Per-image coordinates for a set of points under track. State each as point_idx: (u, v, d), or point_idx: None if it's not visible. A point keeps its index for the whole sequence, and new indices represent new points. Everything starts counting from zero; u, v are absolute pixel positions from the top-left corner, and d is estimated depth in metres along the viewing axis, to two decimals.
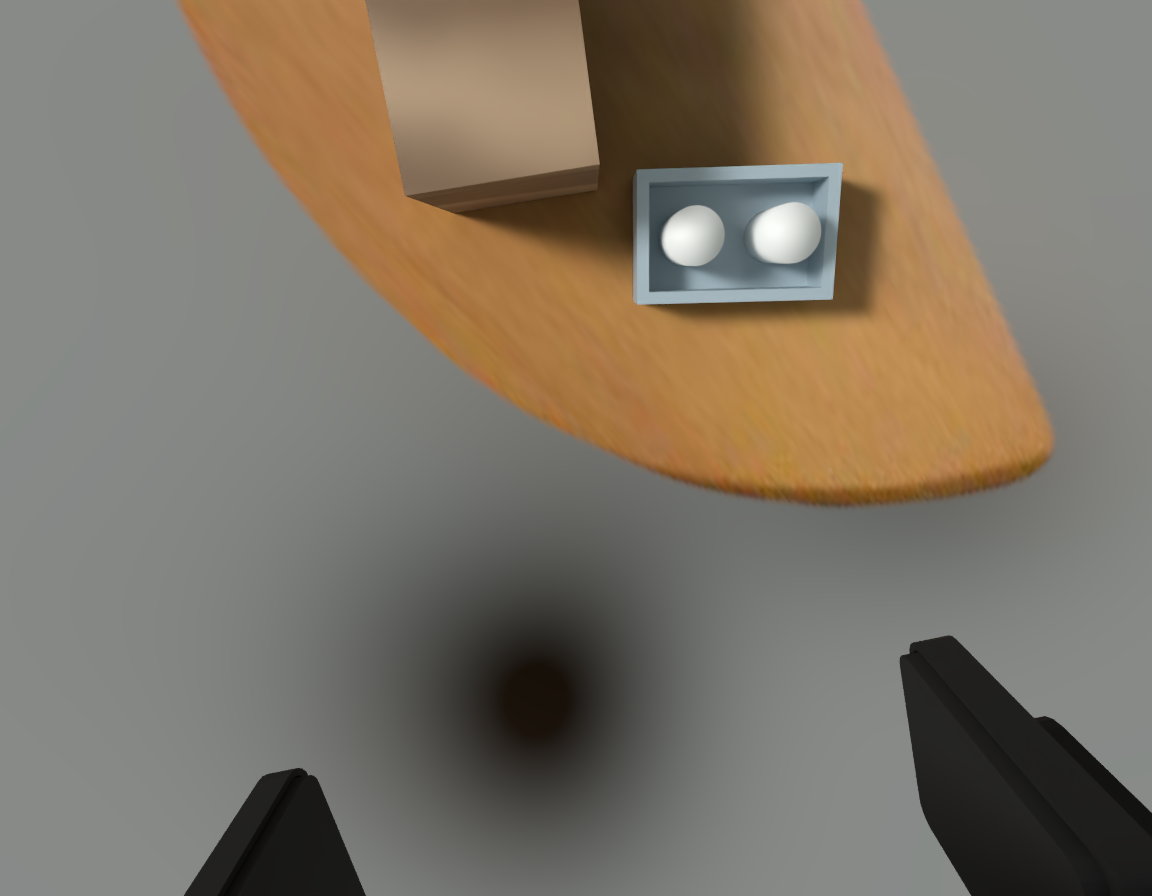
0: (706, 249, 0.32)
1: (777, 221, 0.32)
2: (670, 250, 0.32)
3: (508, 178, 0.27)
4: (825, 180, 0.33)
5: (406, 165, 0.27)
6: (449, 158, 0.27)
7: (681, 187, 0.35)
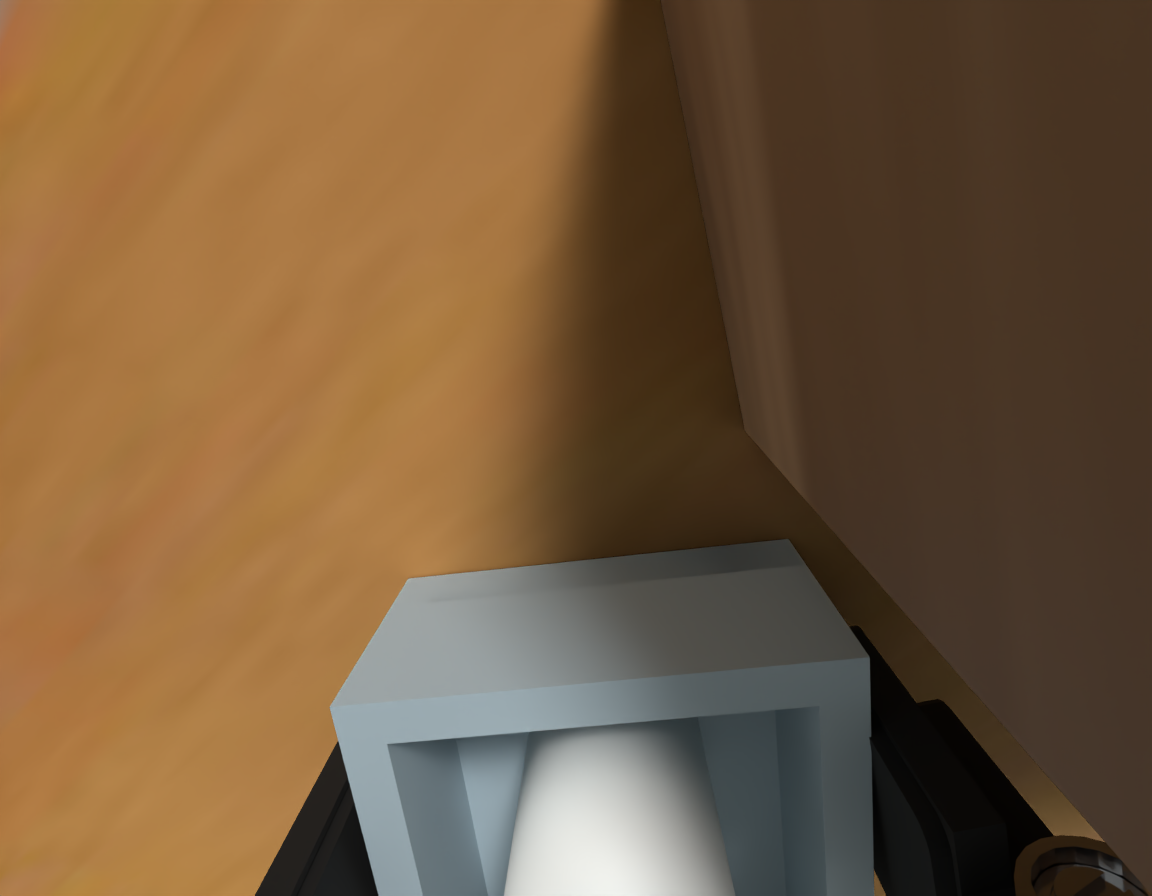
0: None
1: None
2: None
3: None
4: None
5: None
6: None
7: (771, 709, 0.11)
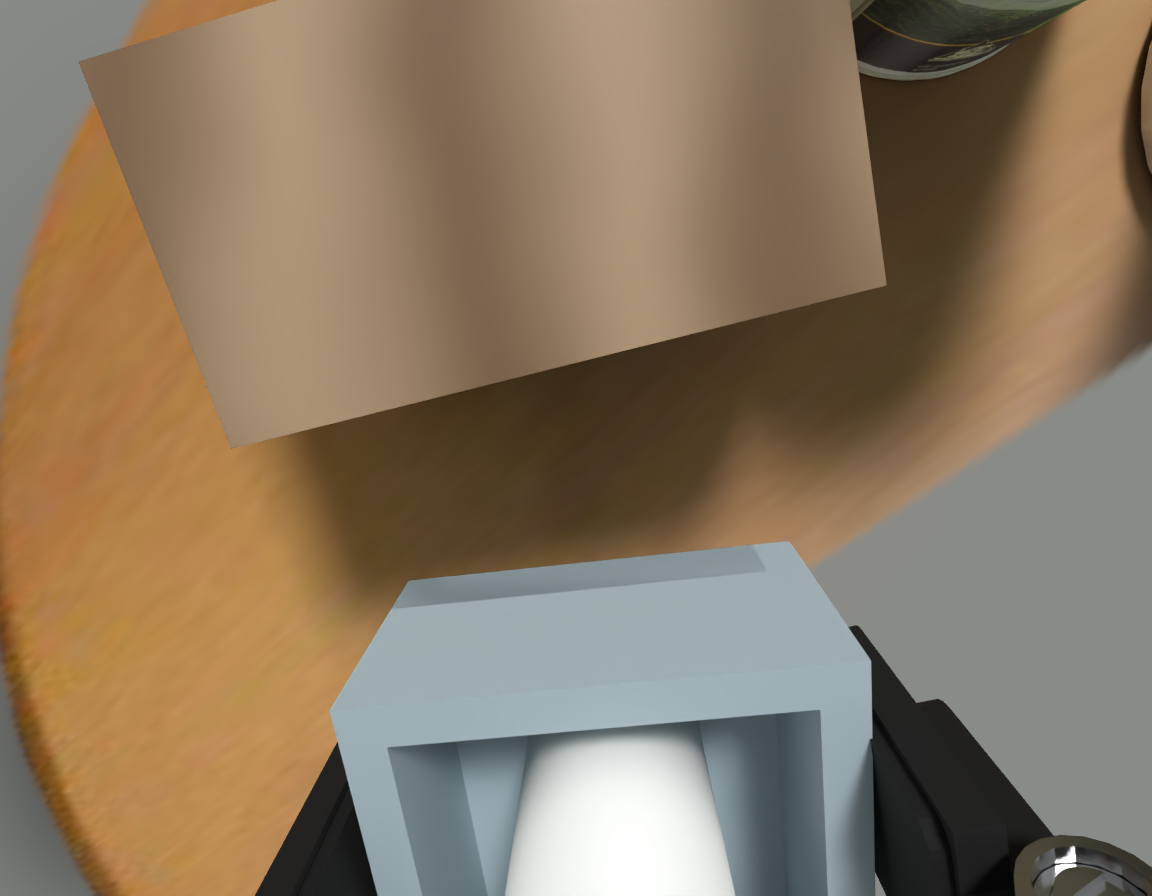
0: None
1: None
2: None
3: (167, 282, 0.14)
4: None
5: (137, 62, 0.13)
6: (173, 158, 0.13)
7: None
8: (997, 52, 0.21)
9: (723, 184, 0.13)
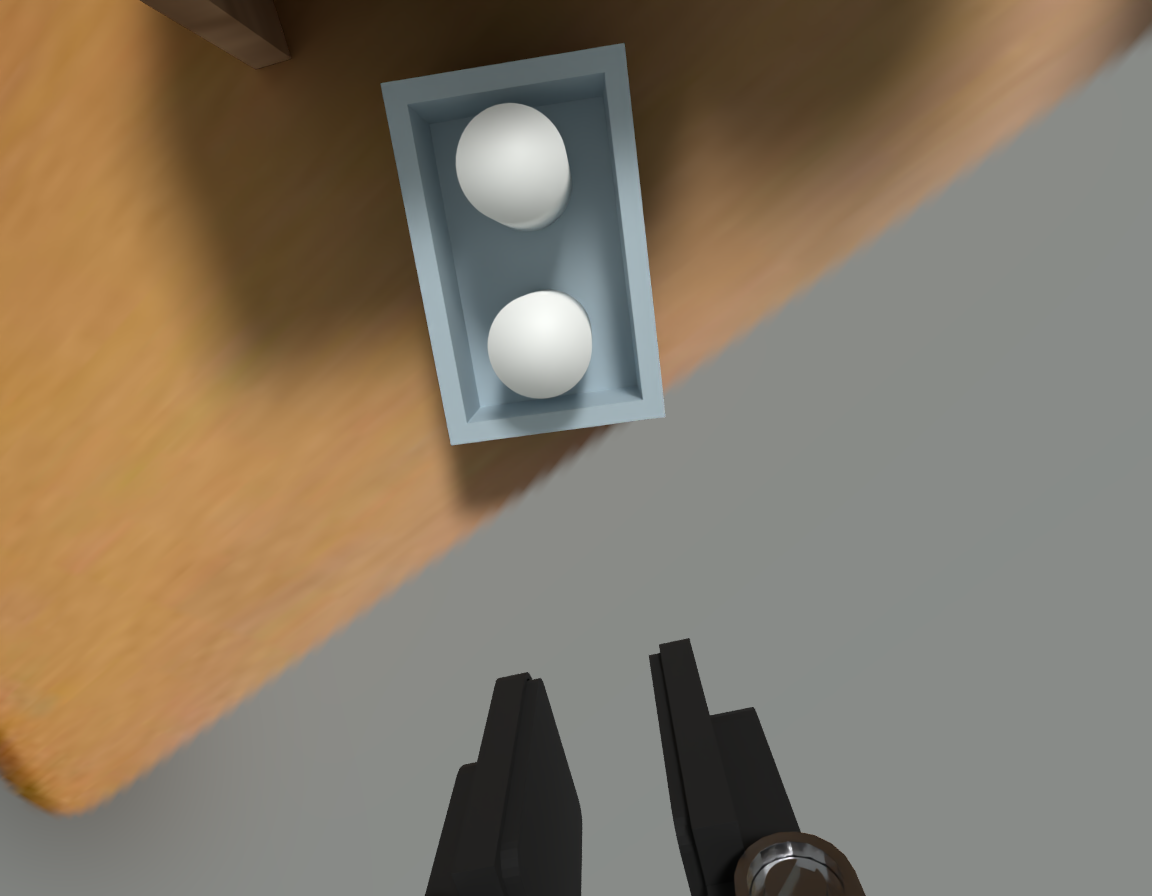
0: (490, 190, 0.17)
1: (555, 317, 0.18)
2: (478, 116, 0.17)
3: None
4: (637, 397, 0.20)
5: None
6: None
7: (609, 164, 0.20)
8: None
9: None
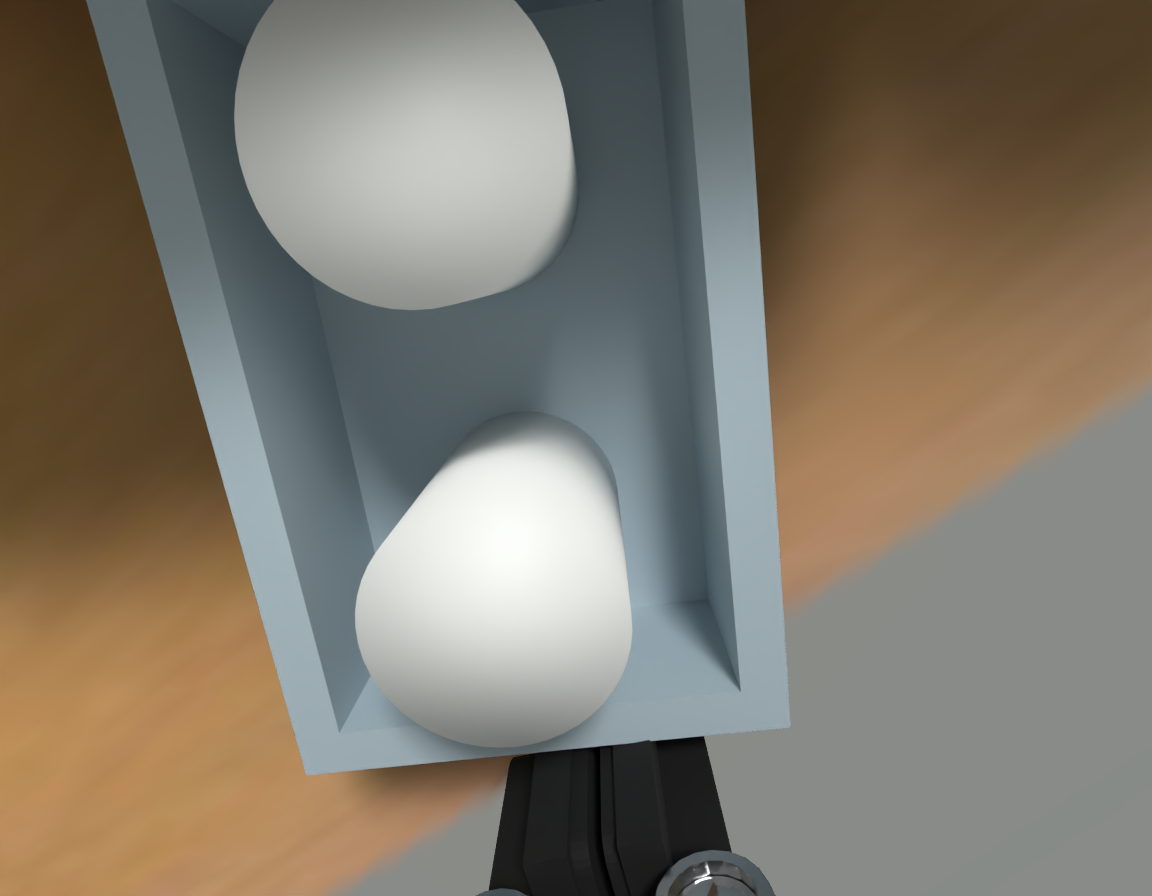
0: (341, 216, 0.06)
1: (537, 559, 0.07)
2: None
3: None
4: (723, 668, 0.09)
5: None
6: None
7: (662, 150, 0.09)
8: None
9: None
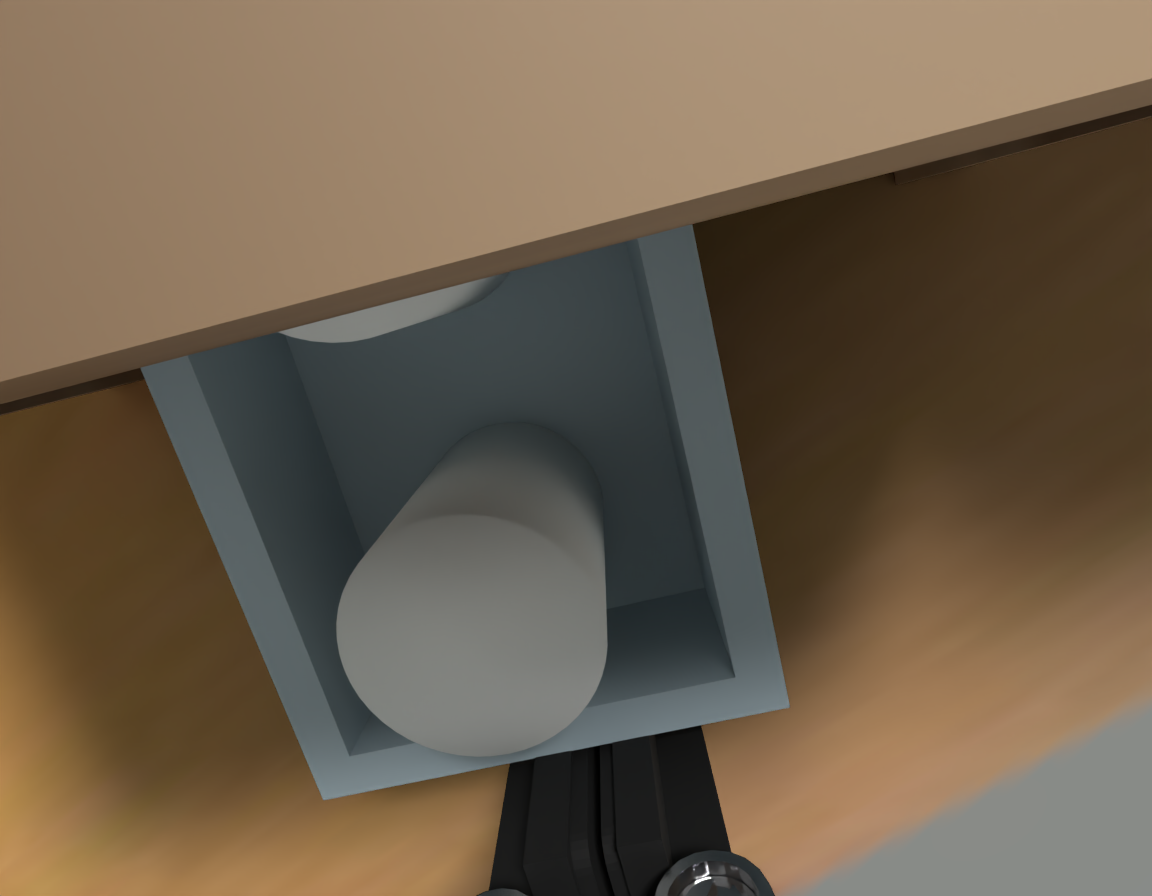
0: None
1: (503, 569, 0.07)
2: None
3: None
4: (718, 655, 0.09)
5: None
6: None
7: None
8: None
9: None
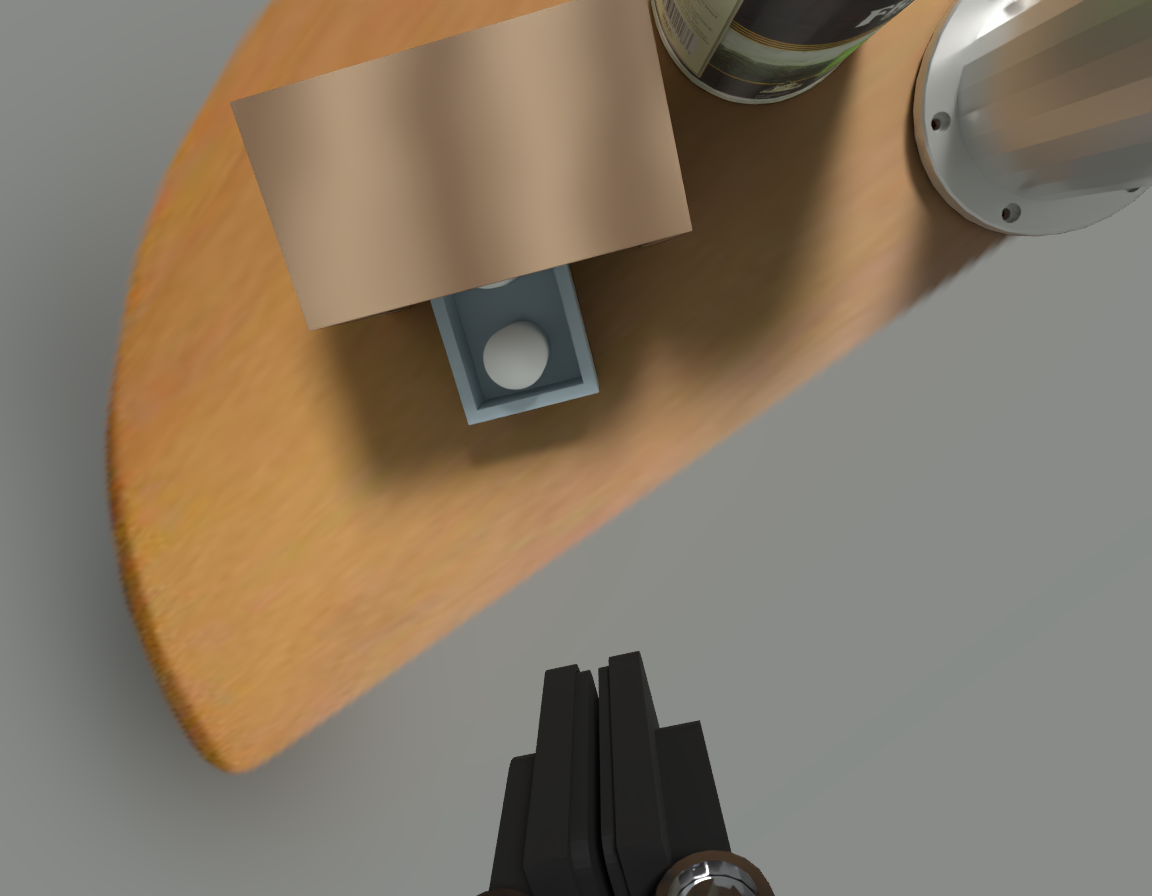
0: None
1: (521, 340, 0.30)
2: None
3: (274, 229, 0.24)
4: (581, 382, 0.32)
5: (262, 102, 0.23)
6: (281, 156, 0.23)
7: None
8: (814, 85, 0.31)
9: (595, 171, 0.23)
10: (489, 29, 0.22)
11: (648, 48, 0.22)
